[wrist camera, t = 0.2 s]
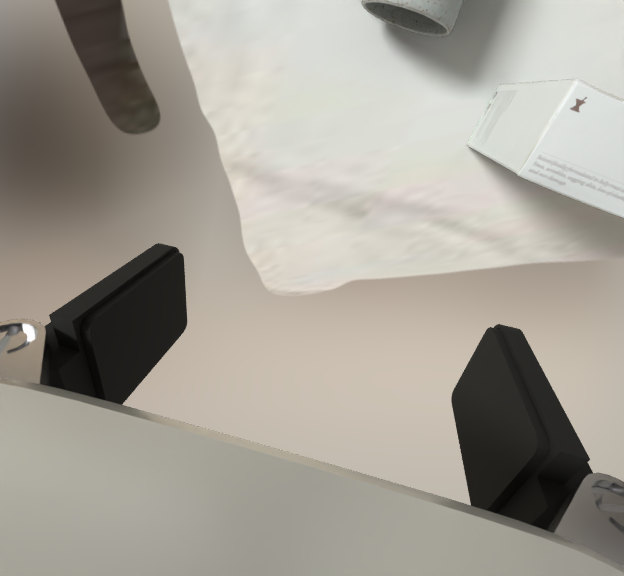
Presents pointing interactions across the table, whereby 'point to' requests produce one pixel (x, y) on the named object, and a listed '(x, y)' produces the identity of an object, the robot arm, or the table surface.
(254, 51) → the table surface
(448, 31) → the ceramic mug
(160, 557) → the robot arm
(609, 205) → the skincare box
